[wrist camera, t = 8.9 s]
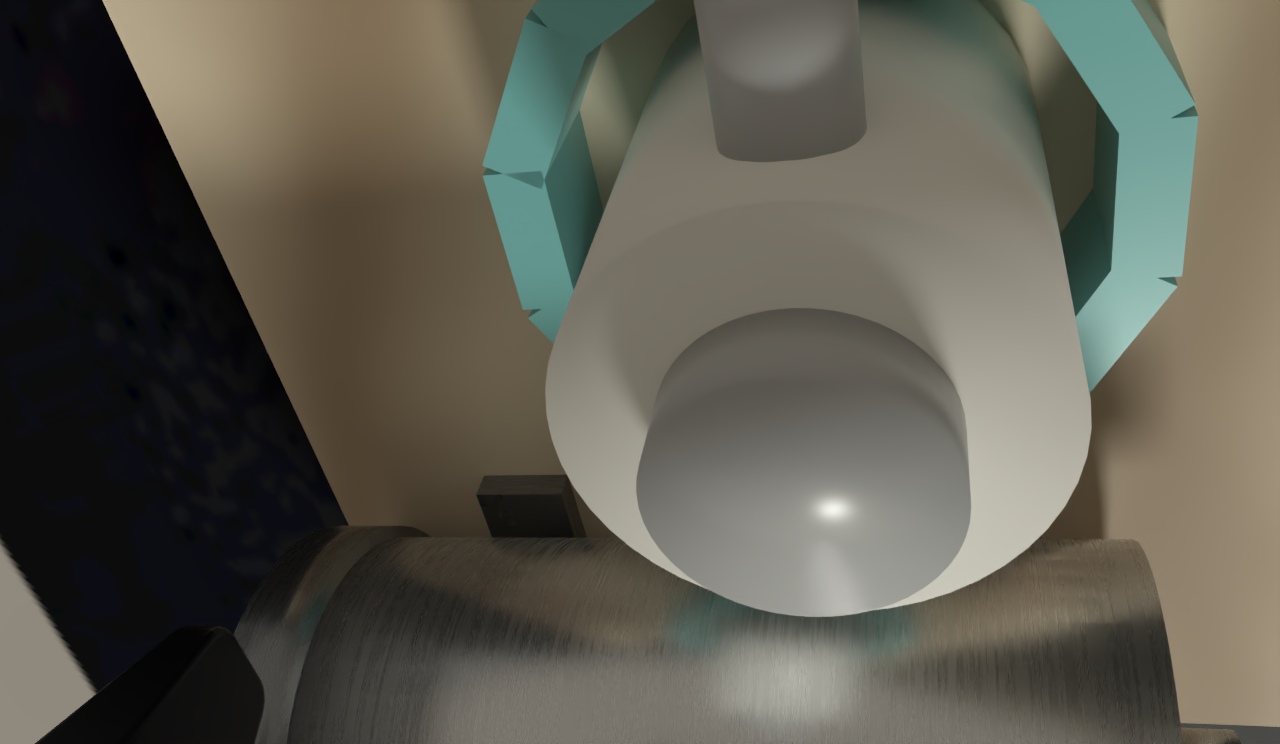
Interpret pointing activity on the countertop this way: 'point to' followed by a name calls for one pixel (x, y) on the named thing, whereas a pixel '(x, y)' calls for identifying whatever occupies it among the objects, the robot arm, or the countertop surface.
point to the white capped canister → (827, 312)
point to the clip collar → (1091, 241)
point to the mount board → (611, 108)
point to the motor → (690, 646)
